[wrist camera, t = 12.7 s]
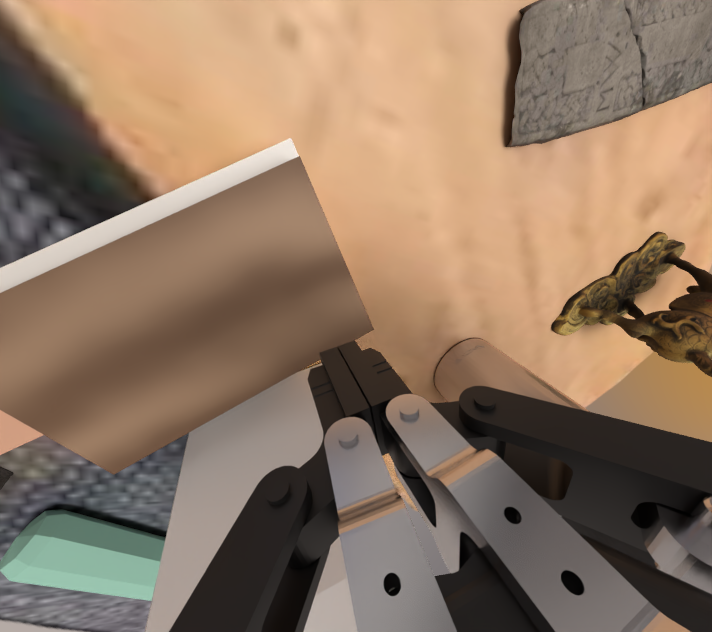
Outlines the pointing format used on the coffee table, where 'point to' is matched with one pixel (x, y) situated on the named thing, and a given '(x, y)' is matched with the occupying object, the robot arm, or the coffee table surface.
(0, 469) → the block
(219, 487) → the gable box
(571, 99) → the stone slab
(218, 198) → the plank
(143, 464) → the coffee table surface
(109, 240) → the riser
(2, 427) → the support block
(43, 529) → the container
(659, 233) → the figurine
